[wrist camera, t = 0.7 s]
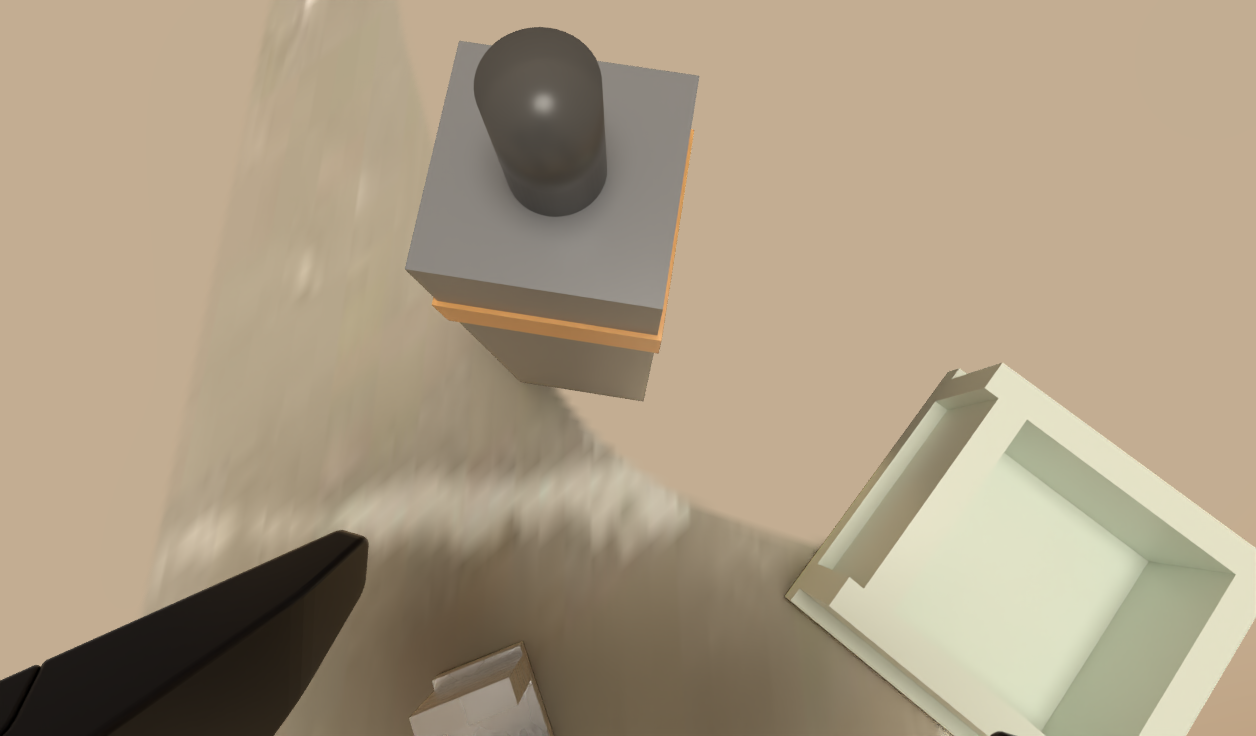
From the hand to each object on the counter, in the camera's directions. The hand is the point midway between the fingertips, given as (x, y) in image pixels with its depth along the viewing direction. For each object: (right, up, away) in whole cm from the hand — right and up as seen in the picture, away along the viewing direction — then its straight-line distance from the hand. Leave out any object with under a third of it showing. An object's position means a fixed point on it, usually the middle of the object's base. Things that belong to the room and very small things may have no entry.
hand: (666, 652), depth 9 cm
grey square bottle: (-2, +5, +14) cm, 15 cm away
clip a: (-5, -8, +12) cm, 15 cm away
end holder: (+12, -3, +13) cm, 18 cm away
